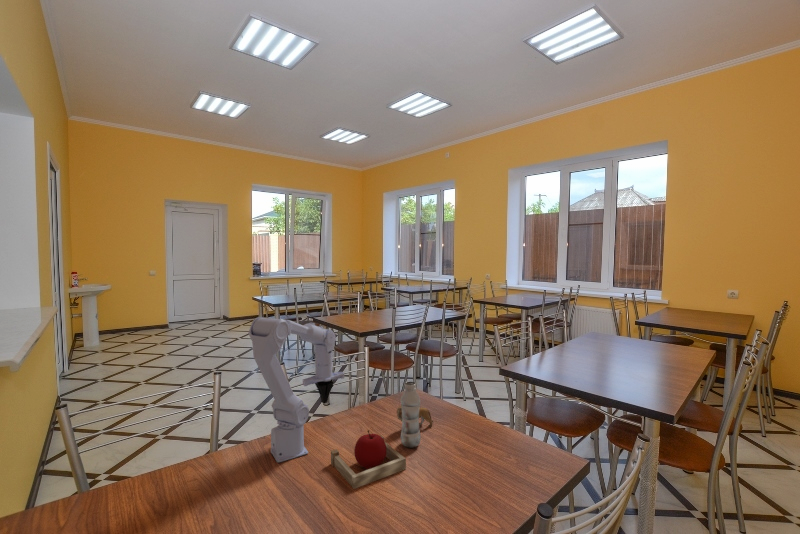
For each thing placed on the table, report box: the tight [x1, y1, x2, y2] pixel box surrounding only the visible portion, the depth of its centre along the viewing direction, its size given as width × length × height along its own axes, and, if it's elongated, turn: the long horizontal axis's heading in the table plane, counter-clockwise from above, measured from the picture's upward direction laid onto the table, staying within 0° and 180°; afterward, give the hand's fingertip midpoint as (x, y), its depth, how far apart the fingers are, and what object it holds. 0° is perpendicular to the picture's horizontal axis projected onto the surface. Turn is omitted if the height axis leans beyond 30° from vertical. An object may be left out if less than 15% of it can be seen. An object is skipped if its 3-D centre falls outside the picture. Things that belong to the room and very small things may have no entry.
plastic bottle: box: [400, 380, 422, 448], centre depth 120 cm, size 6×7×20 cm
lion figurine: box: [396, 405, 434, 428], centre depth 132 cm, size 15×5×9 cm, turn 120°
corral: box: [330, 434, 407, 490], centre depth 109 cm, size 17×14×4 cm
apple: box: [353, 430, 387, 470], centre depth 109 cm, size 9×9×10 cm
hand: (324, 402), depth 131 cm, fingers closed
